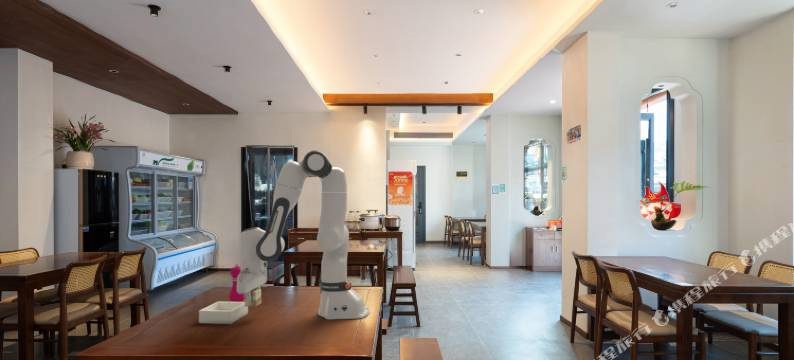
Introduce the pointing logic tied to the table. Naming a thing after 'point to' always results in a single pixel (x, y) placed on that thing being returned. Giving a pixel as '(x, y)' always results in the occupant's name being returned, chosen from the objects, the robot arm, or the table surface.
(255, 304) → the birch block
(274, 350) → the table surface
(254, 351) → the table surface
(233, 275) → the pepper mill
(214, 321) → the serving bin
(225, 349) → the table surface
